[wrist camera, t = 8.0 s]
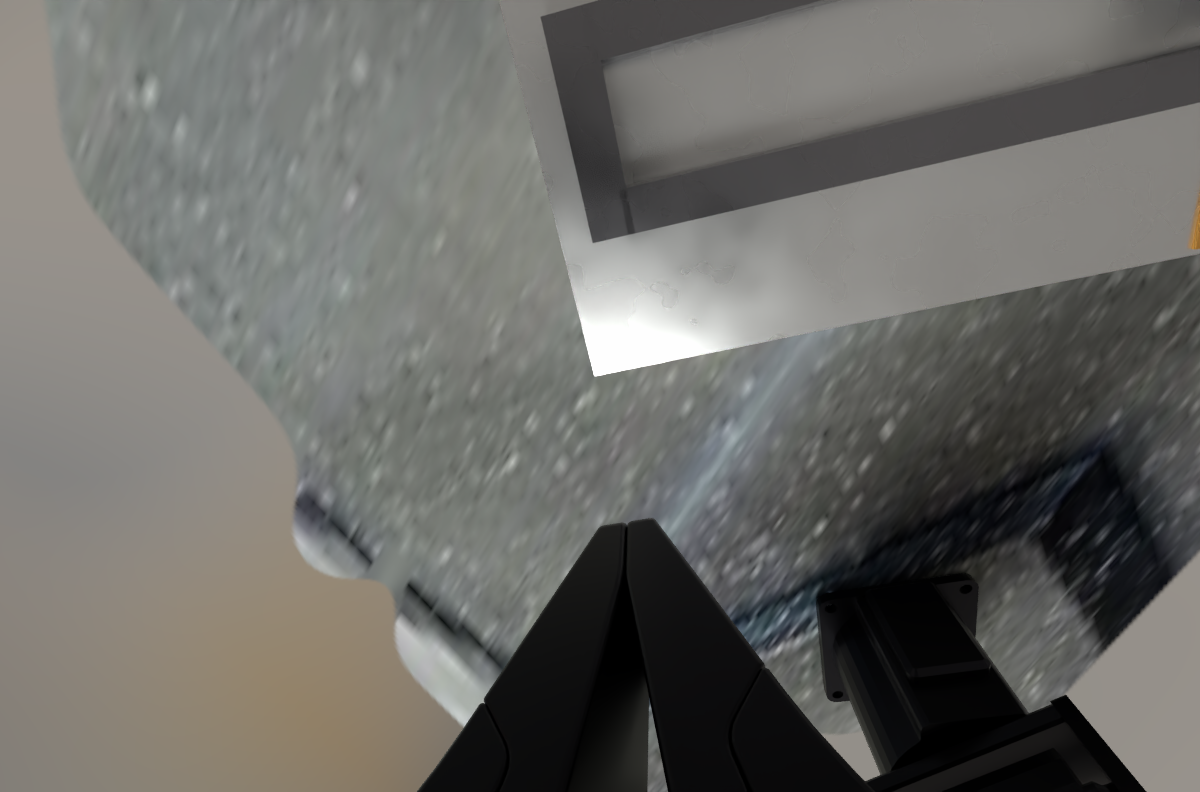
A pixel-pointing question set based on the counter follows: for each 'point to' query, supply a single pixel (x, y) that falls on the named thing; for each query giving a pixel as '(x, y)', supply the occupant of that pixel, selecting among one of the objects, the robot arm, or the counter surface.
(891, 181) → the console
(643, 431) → the counter surface
